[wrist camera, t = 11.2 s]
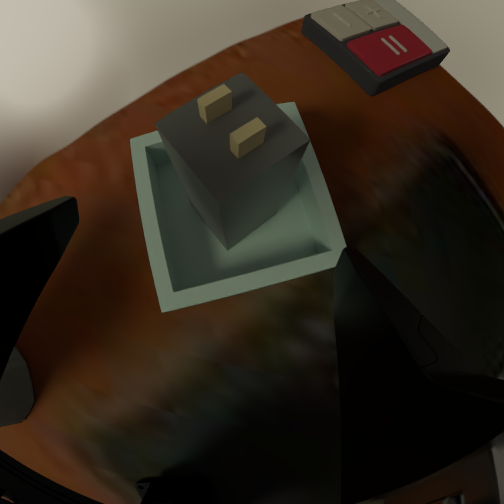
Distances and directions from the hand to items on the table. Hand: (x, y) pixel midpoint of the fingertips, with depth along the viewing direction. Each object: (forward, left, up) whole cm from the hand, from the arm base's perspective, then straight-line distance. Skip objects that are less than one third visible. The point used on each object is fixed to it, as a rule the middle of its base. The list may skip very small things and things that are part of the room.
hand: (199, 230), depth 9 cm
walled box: (+4, -2, -13) cm, 14 cm away
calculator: (+20, -23, -14) cm, 33 cm away
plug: (+4, -2, -12) cm, 13 cm away
